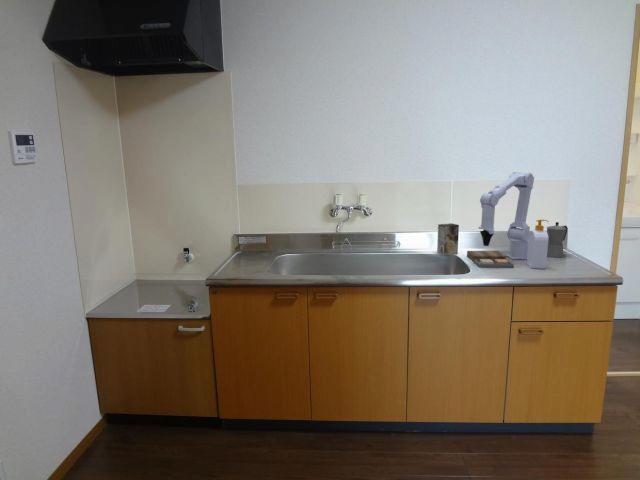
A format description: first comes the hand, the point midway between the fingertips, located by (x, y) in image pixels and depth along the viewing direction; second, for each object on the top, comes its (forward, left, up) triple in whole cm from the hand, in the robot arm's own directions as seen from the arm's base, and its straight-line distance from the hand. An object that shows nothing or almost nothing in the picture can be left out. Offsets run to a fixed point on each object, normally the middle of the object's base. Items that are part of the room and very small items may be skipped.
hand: (486, 245), depth 226 cm
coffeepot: (-42, -19, -10) cm, 48 cm away
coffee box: (+14, -22, -10) cm, 28 cm away
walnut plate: (-3, -10, -9) cm, 14 cm away
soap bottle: (-23, +4, -10) cm, 26 cm away
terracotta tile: (-7, +3, -7) cm, 10 cm away
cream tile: (0, +3, -7) cm, 7 cm away
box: (-3, +2, -9) cm, 10 cm away
